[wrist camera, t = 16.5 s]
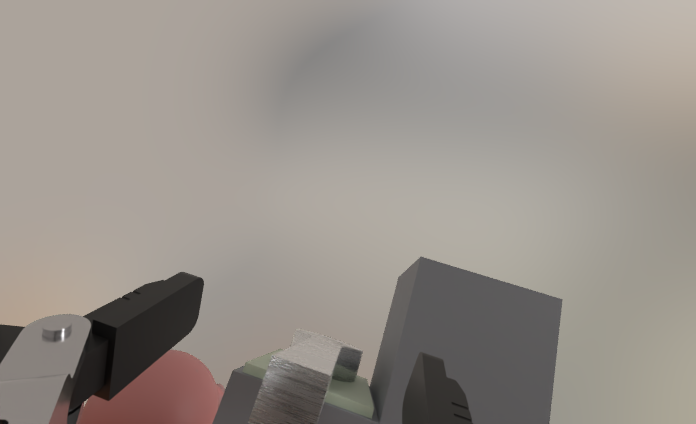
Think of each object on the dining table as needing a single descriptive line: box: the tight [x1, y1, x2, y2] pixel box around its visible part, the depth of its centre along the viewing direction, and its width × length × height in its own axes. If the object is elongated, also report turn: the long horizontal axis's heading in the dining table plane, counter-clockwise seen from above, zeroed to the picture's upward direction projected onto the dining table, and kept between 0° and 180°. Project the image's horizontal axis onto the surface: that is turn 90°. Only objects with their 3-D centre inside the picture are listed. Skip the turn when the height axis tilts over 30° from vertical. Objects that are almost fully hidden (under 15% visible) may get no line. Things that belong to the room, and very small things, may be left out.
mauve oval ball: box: [79, 350, 225, 424], centre depth 43 cm, size 15×20×15 cm
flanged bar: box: [248, 328, 363, 424], centre depth 22 cm, size 6×21×2 cm, turn 179°
